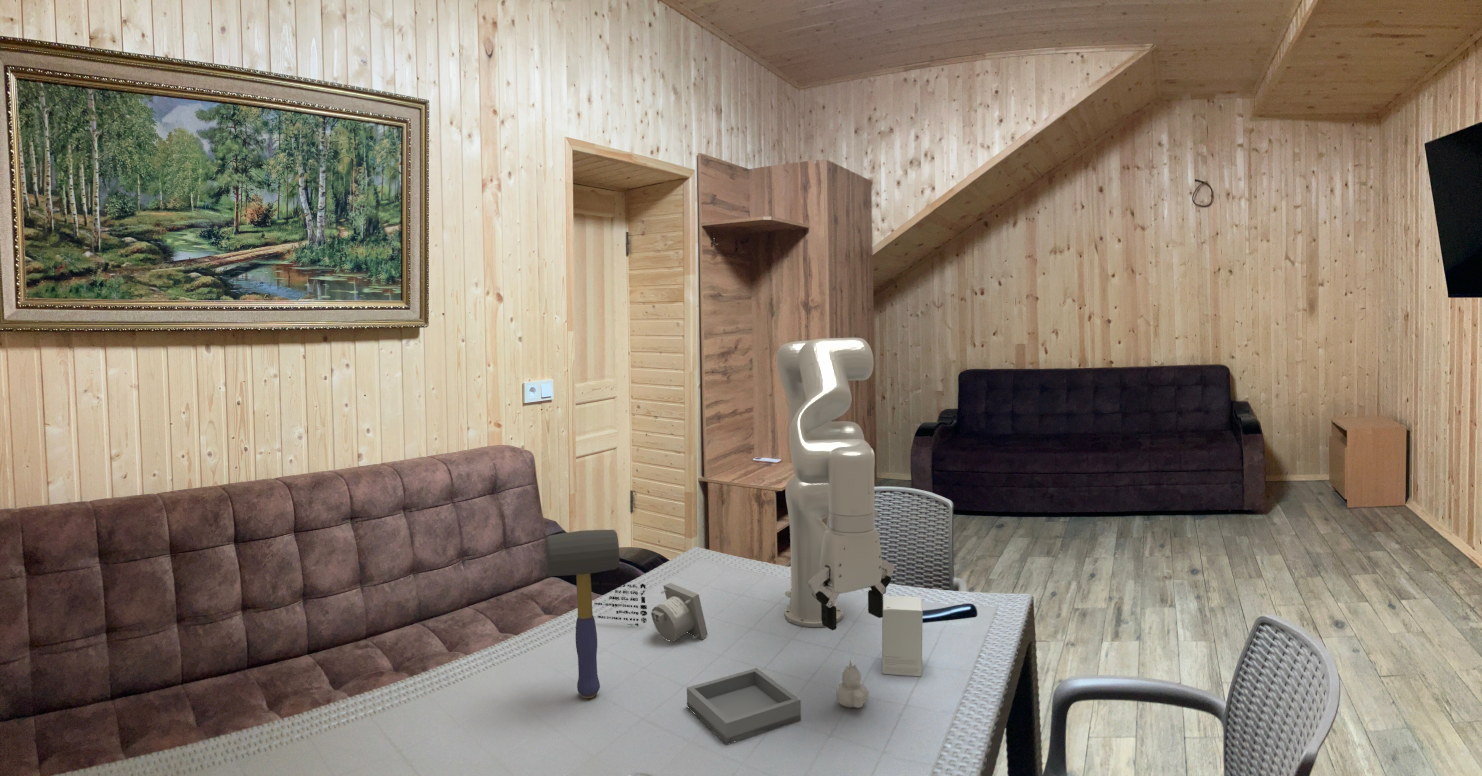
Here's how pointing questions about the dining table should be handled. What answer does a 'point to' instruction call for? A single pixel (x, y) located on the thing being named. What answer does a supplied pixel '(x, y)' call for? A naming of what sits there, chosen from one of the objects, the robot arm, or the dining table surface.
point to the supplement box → (902, 635)
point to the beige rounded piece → (851, 688)
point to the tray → (743, 705)
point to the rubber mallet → (584, 589)
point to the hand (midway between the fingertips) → (852, 621)
